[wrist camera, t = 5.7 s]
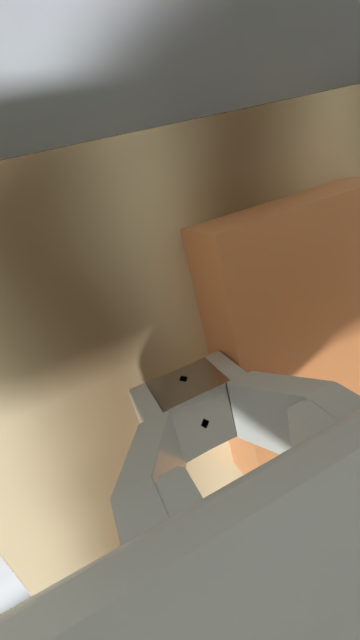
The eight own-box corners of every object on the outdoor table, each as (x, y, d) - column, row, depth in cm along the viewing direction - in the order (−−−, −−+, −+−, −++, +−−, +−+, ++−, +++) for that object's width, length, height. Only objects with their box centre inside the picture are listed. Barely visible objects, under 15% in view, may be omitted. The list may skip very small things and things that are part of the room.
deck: (401, 88, 15) (510, 51, 12) (391, 343, 21) (463, 370, 17) (-147, 214, 9) (-262, 216, 6) (48, 524, 15) (51, 622, 11)
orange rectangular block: (345, 177, 10) (407, 171, 9) (350, 397, 14) (394, 423, 12) (180, 229, 9) (215, 233, 7) (233, 462, 12) (265, 503, 11)
